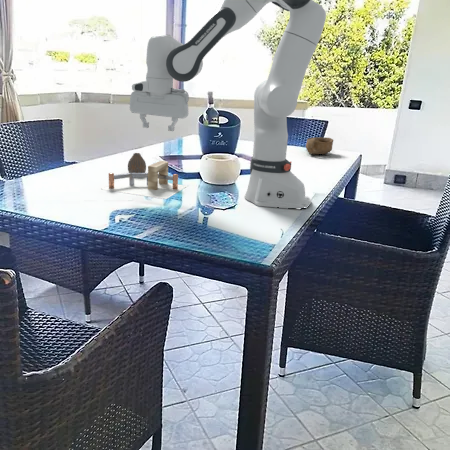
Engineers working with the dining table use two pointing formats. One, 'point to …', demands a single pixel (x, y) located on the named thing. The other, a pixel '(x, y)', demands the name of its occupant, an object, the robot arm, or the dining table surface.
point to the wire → (132, 175)
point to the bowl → (319, 145)
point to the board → (145, 188)
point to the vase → (136, 164)
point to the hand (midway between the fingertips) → (158, 129)
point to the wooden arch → (153, 174)
